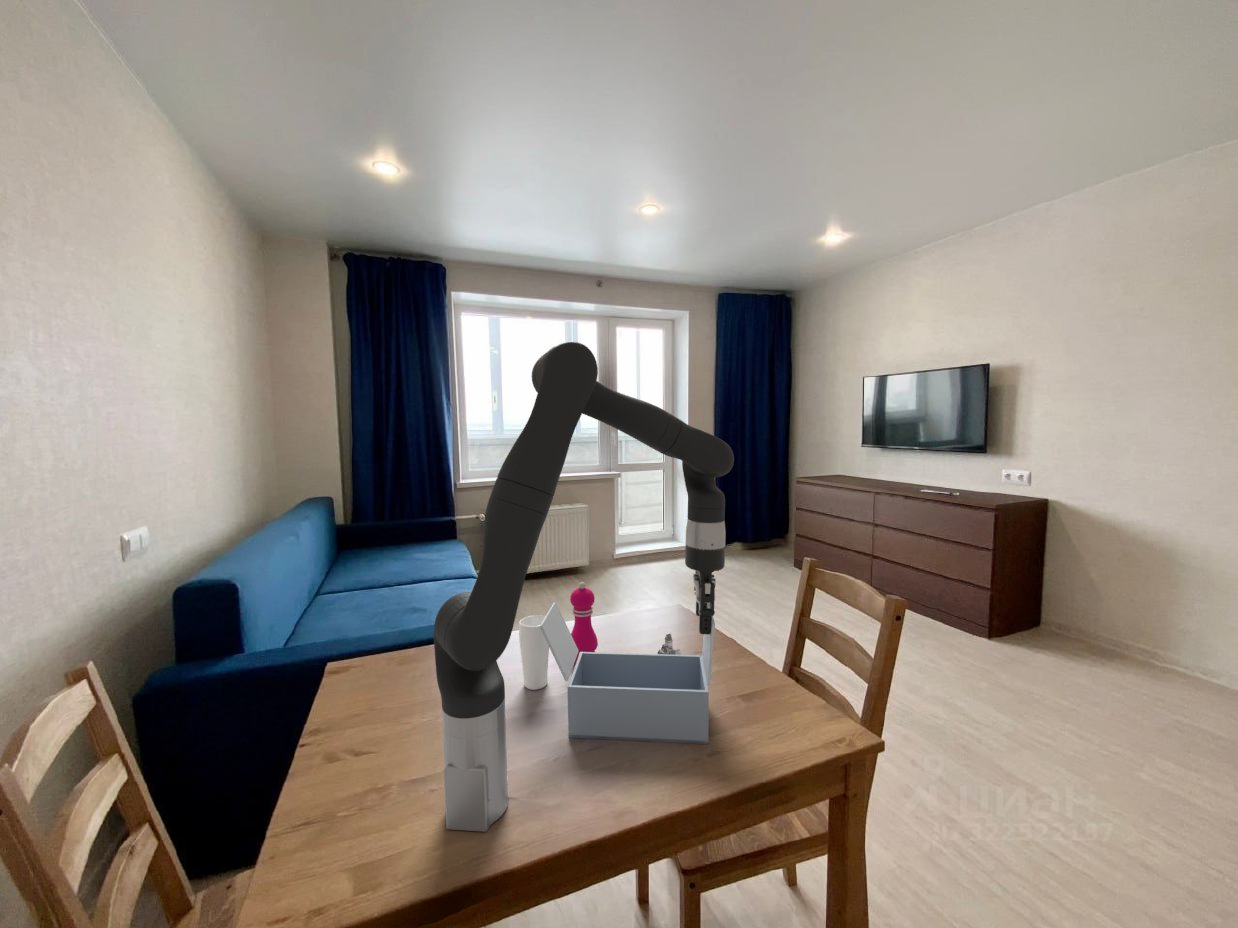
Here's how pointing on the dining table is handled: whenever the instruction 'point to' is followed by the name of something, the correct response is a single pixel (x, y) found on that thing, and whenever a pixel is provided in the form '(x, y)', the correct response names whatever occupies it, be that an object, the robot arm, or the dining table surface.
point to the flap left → (559, 640)
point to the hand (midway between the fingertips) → (703, 624)
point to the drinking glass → (533, 652)
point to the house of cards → (668, 647)
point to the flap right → (708, 650)
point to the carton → (639, 698)
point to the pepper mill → (583, 620)
